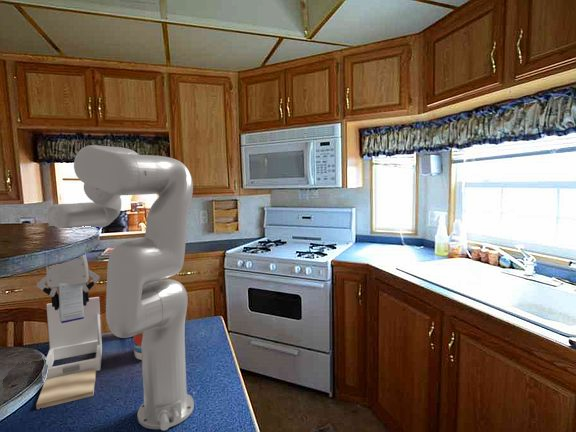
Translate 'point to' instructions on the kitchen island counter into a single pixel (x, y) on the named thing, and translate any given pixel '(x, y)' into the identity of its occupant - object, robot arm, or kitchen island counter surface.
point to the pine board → (67, 388)
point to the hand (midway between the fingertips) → (71, 306)
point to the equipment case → (74, 340)
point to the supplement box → (70, 302)
